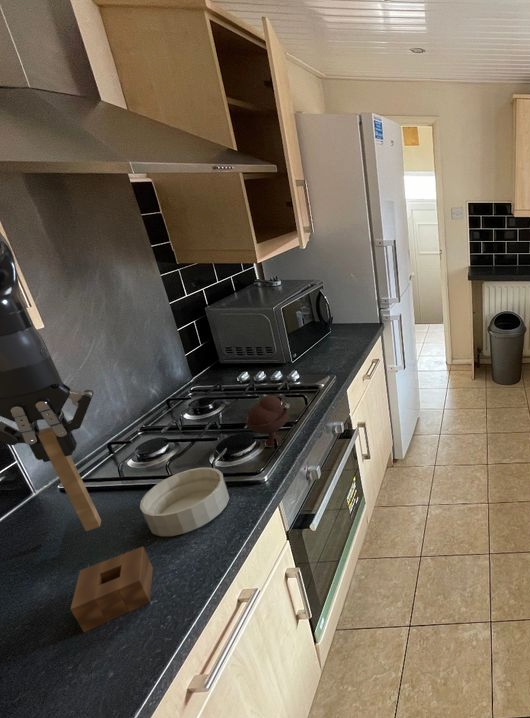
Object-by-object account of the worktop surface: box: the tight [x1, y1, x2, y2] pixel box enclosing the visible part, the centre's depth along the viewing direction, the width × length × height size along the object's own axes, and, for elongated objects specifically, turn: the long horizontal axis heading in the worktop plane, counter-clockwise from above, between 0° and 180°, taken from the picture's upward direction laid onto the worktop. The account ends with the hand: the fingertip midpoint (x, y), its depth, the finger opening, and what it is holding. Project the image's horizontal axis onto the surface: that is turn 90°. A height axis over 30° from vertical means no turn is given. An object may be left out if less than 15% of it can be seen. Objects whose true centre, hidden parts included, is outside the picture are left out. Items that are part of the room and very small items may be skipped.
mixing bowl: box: [139, 467, 230, 537], centre depth 96 cm, size 15×15×6 cm
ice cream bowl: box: [244, 395, 289, 446], centre depth 119 cm, size 11×11×15 cm
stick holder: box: [70, 545, 154, 633], centre depth 77 cm, size 9×9×6 cm
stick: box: [38, 426, 102, 532], centre depth 69 cm, size 2×2×20 cm
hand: (59, 455), depth 67 cm, fingers closed on stick, 2 cm apart
